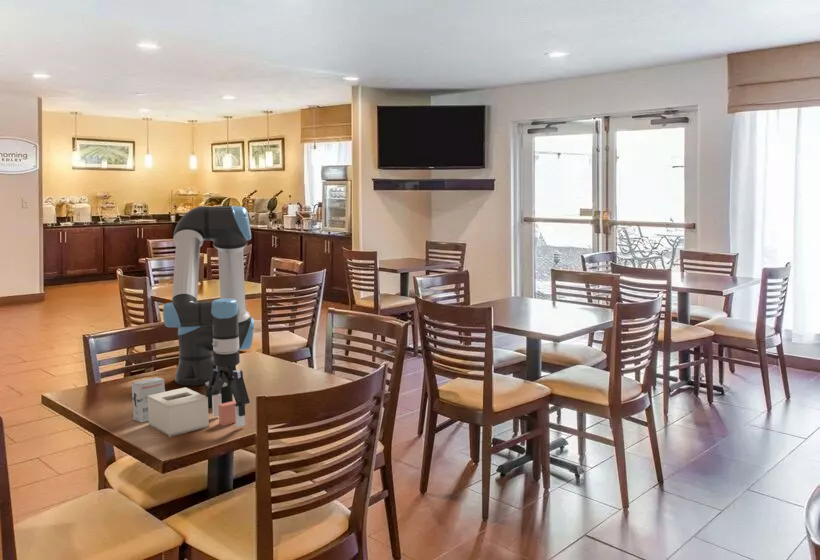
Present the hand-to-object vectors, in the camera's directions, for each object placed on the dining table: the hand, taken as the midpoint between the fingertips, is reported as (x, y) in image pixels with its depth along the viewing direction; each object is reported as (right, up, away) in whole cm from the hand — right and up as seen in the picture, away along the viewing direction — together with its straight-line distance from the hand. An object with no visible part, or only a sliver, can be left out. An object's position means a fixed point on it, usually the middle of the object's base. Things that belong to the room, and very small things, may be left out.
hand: (228, 420), depth 207 cm
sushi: (-8, +1, +18) cm, 20 cm away
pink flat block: (0, -1, 0) cm, 1 cm away
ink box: (-25, 0, +5) cm, 26 cm away
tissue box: (-14, -1, -2) cm, 14 cm away
